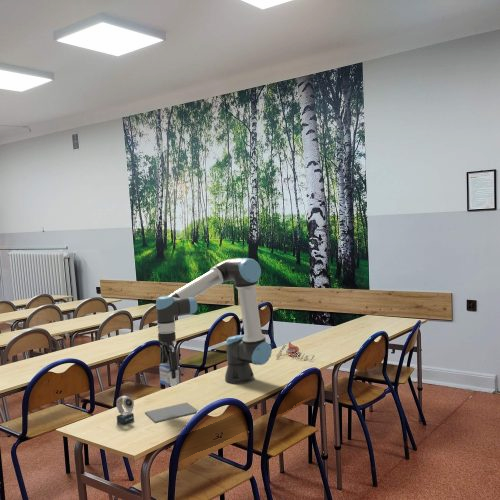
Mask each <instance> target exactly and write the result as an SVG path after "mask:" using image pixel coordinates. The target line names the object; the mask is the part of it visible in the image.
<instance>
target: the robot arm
mask: <svg viewBox="0 0 500 500" xmlns="http://www.w3.org/2000/svg"><path fill="white" fill-rule="evenodd" d="M261 275H262V269H261V266H260V264H259V262H258V261H256V259H254V258H249V257H231V258H226V259H225V260H222V261H220V262H219V263H218V264H215V265H214V266H212V267H211V268H210V269H209V271H207V272H206V273H204V274H203V275H201V276H199V277H197V278H195V279H194V280H192V281H191V282H189V283H187V284H185V285H184V286H182V287H180V288H179V289H177V290H175V291H173V292H172V293H169V294H168V295H162V296H158V297H157V298H156V302H155V305H156V306H155V309H156V321H157V322H156V323H157V325H156V328H157V332H158V334H157V338H158V342H159V365H160V364H163V363H169V366H170V370H169V372H170V387H174V386H177V385H178V384H177V379H176V370H179V364H178V360H177V359H178V357H177V351H176V349H177V348H176V346H174V345H173V342H175V341H176V339H177V338H176V332H175V331H176V321H175V318H176V317H181V316H186V315H187V316H189V315H192V314H195V313H196V312H197V310H198V302H197V300H196V297H198V296H200V295H201V294H203V293H205V292H206V291H209V290H210V289H211V288H213V287H215V286H217V285H222V284H223V283H225V282H233V284H234V288H236V289H237V290H238V291H237V292H238V297H239V304H240V311H241V319H242V325H243V326H242V327H243V332H244V334H237V335H232V336H229V337H227V338H226V341H225V342H226V344H225V347H226V348H225V349H226V359H227V367H226V370H225V371H226V372H225V374H224V381H225V382H226V383H228V384H246V383H250V382H251V381H253V380H254V379H255V376H254V375H255V374H254V372H253V369H252V366H251V364H252V365H256V366H262V365H265V364H266V363H267V362H268V361H269V360H270V359H271V357H272V345H271V344H269V342H267V341H266V336H265V334H263V333H262V325H261V320H260V310H259V305H258V298H257V290H256V288H257V285H258V284H259V283H258V281H259V280H260V278H261ZM249 381H250V382H249ZM245 382H246V383H245Z"/></svg>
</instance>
